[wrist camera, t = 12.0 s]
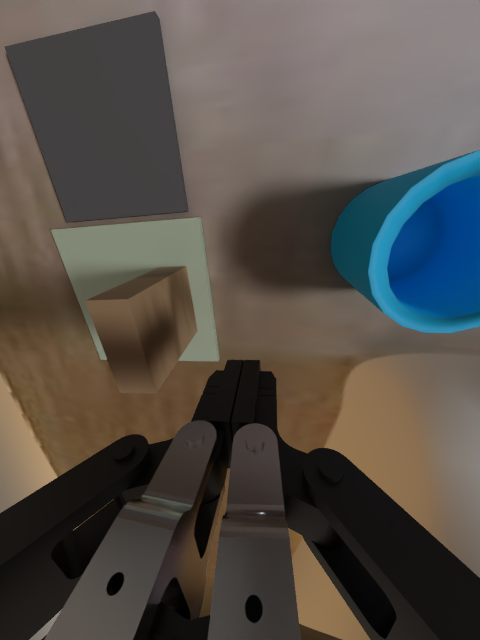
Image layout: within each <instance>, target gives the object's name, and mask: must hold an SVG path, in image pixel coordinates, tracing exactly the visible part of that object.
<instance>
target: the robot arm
mask: <svg viewBox="0 0 480 640" xmlns="http://www.w3.org/2000/svg"><path fill="white" fill-rule="evenodd" d="M227 468H230V476H229V487H228V497H227V507H226V513H225V515H223V518H222V521H221V527H220V534H219V542H218V551H217V560H216V569H215V578H214V587H213V596H212V605H211V614H210V615H209V616H205V617H201V618H199V616H200V612H201V608H202V603H203V598H204V592H205V584H206V570H207V563H208V558H209V554H210V550H211V546H212V542H213V538H214V534H215V529H216V525H217V521H218V517H219V513H220V509H221V505H222V501H223V497H224V493H225V479H226V474H227ZM113 499H114V500H113ZM112 500H113V501H112ZM110 501H111V502H110ZM109 502H110V503H109ZM108 503H109V504H108ZM106 504H107V505H106ZM105 505H106V506H105ZM104 506H105V507H104ZM102 507H103V508H102ZM101 508H102V509H101ZM100 509H101V510H100ZM99 510H100V511H99ZM97 511H98V512H97ZM96 512H97V513H96ZM95 513H96V514H95ZM93 514H94V515H93ZM92 515H93V516H92ZM91 516H92V517H91ZM89 517H91V518H89ZM88 518H89V519H88ZM87 519H88V520H87ZM86 520H87V521H86ZM84 521H85V522H84ZM83 522H84V523H83ZM82 523H83V524H82ZM80 524H81V525H80ZM79 525H80V526H79ZM78 526H79V527H78ZM76 527H78V528H76ZM75 528H76V529H75ZM288 528H290V529H292V530H294V531H295V532H297V533H299V534H301V535H302V536H303V538H304V540H305V542H306V544H307V545H308V547H309V548H310V550H311V551H312V553H313V554H314V556H315V557H316V559H317V560H318V561H319V563H320V565H321V566H322V568H323V569H324V571H325V572H326V574H327V575H328V576H329V578H330V579H331V581H332V582H333V584H334V585H335V587H336V588H337V590H338V591H339V593H340V594H341V596H342V597H343V599H344V600H345V602H346V603H347V605H348V606H349V607H350V609H351V611H352V612H353V614H354V615H355V617H356V618H357V620H358V621H359V623H360V624H361V626H362V627H363V629H364V630H365V632H366V633H367V635H368V636H369V638H370V639H371V640H480V578H479V577H478V576H477V575H476V574H474V573H473V572H472V571H471V570H470V569H469V568H468V567H467V566H466V565H465V564H463V563H462V562H461V561H460V560H459V559H458V558H457V557H456V556H455V555H454V554H452V553H451V552H450V551H449V550H448V549H447V548H446V547H445V546H444V545H443V544H441V543H440V542H439V541H438V540H437V539H436V538H435V537H434V536H432V535H431V534H430V533H429V532H428V531H427V530H426V529H425V528H424V527H423V526H421V525H420V524H419V523H418V522H417V521H416V520H415V519H414V518H412V517H411V516H410V515H409V514H408V513H407V512H406V511H405V510H404V509H403V508H402V507H400V506H399V505H398V504H397V503H396V502H395V501H394V500H393V499H392V498H390V497H389V496H388V495H387V494H386V493H385V492H384V491H383V490H382V489H381V488H379V487H378V486H377V485H376V484H375V483H374V482H373V481H372V480H370V479H369V478H368V477H367V476H366V475H365V474H364V473H363V472H362V471H361V470H359V469H358V468H357V467H356V466H355V465H354V464H353V463H352V462H351V461H350V460H348V459H347V458H346V457H345V456H344V455H342V454H341V453H339V452H337V451H335V450H332V449H328V448H318V449H314V450H312V451H311V452H309V453H308V454H307V453H304V452H302V451H299V450H296V449H294V448H292V447H291V446H289V445H288V444H286V443H285V442H284V441H283V440H282V438H281V437H280V435H279V433H278V430H277V399H276V378H275V377H274V375H273V373H272V372H271V371H261V368H260V360H227V363H226V366H225V369H224V371H218V370H216V371H215V372H214V373H213V374H212V375H211V376H210V377H209V379H208V381H207V384H206V387H205V389H204V391H203V395H202V396H201V398H200V401H199V403H198V406H197V408H196V411H195V413H194V416H193V418H192V421H191V422H190V423H188V424H186V425H184V426H183V427H182V428H181V429H180V430H179V431H178V432H177V434H176V435H175V437H174V438H173V439H170V440H167V441H162V442H158V443H154V444H148V441H147V439H146V438H145V437H144V436H142V435H137V434H133V435H128V436H125V437H123V438H121V439H119V440H117V441H115V442H114V443H112V444H111V445H109V446H107V447H106V448H104V449H103V450H101V451H99V452H98V453H96V454H95V455H93V456H91V457H90V458H88V459H87V460H85V461H83V462H82V463H80V464H79V465H77V466H75V467H74V468H72V469H71V470H69V471H67V472H66V473H64V474H63V475H61V476H59V477H58V478H56V479H55V480H53V481H51V482H50V483H48V484H47V485H45V486H43V487H42V488H40V489H39V490H37V491H36V492H34V493H32V494H31V495H29V496H28V497H26V498H24V499H23V500H21V501H20V502H18V503H16V504H15V505H13V506H11V507H10V508H8V509H7V510H5V511H3V512H2V513H0V640H29V639H30V638H31V637H32V636H33V635H34V634H36V633H37V631H39V630H40V629H41V628H42V627H43V626H44V625H45V624H46V623H47V622H48V621H50V620H51V619H52V618H53V617H54V616H55V615H56V614H57V613H58V612H59V611H60V610H61V609H62V608H63V609H62V610H61V612H60V614H59V616H58V617H57V619H56V621H55V622H54V624H53V626H52V628H51V629H50V631H49V632H48V634H47V635H46V636H45V637H44V638H43V639H42V640H301V638H300V629H299V620H298V611H297V602H296V593H295V585H294V575H293V566H292V557H291V548H290V539H289V531H288ZM74 529H75V530H74Z"/></svg>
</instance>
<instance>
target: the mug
mask: <svg viewBox="0 0 480 640" xmlns="http://www.w3.org/2000/svg"><path fill="white" fill-rule="evenodd" d="M330 250H331V255H332V259H333V263H334V266H335V267H336V269H337V270H338V272H339V273H340V275H341V276H342V277H343V278H344V279H345V280H346V281H347V282H349V283H350V284H351V285H352V286H353V287H354V288H355V289H357V290H358V291H359V292H360V293H361V294H362V295H364V296H365V297H366V298H367V299H368V300H369V301H370V302H372V303H373V304H374V305H375V306H376V307H377V308H378V309H380V310H381V311H382V312H383V313H384V314H386V315H387V316H389V317H390V318H391V319H393V320H394V321H396V322H397V323H398V324H400V325H401V326H404V327H407V328H411V329H414V330H417V331H421V332H424V333H453V332H458V331H462V330H466V329H471V328H475V327H480V150H478V151H475V152H472V153H469V154H466V155H463V156H459V157H456V158H453V159H450V160H447V161H444V162H441V163H438V164H435V165H432V166H429V167H425V168H422V169H419V170H416V171H413V172H410V173H407V174H404V175H401V176H398V177H395V178H392V179H388V180H386V181H383V182H381V183H378V184H376V185H373V186H371V187H368V188H367V189H366V190H364V191H363V192H362V193H360V194H359V195H358V196H356V197H355V198H354V199H353V200H351V201H350V203H349V204H348V205H347V207H346V208H345V209H344V211H343V212H342V213H341V214H340V216H339V218H338V220H337V223H336V225H335V227H334V230H333V232H332V239H331V249H330Z"/></svg>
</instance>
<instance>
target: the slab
mask: <svg viewBox="0 0 480 640" xmlns="http://www.w3.org/2000/svg"><path fill="white" fill-rule="evenodd" d="M85 302H86V304H87V307H88V310H89V312H90V315H91V318H92V320H93V323H94V326H95V328H96V331H97V334H98V336H99V339H100V342H101V344H102V347H103V350H104V352H105V355H106V358H107V360H108V363H109V366H110V368H111V371H112V373H113V376H114V379H115V381H116V384H117V387H118V389H119V392H120V393H146V394H156V393H157V391H158V390H159V388H160V387H161V385H162V384H163V382H164V381H165V379H166V378H167V376H168V375H169V373H170V372H171V370H172V369H173V367H174V366H175V364H176V363H177V361H178V360H179V358H180V357H181V355H182V354H183V352H184V351H185V349H186V348H187V346H188V345H189V343H190V342H191V340H192V339H193V337H194V336H195V334H196V332H197V331H198V330H197V324H196V319H195V313H194V307H193V301H192V295H191V290H190V284H189V278H188V272H187V266H177V267H159V268H157V269H155V270H153V271H150V272H148V273H146V274H144V275H141V276H139V277H137V278H135V279H132V280H130V281H128V282H126V283H123V284H121V285H119V286H117V287H114V288H112V289H110V290H108V291H105V292H103V293H101V294H99V295H96V296H94V297H92V298H90V299H87V300H85Z"/></svg>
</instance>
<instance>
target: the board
mask: <svg viewBox="0 0 480 640" xmlns="http://www.w3.org/2000/svg"><path fill="white" fill-rule="evenodd" d="M51 232H52V235H53V237H54V240H55V242H56V245H57V248H58V250H59V253H60V255H61V258H62V261H63V263H64V266H65V268H66V271H67V273H68V276H69V279H70V281H71V284H72V286H73V289H74V291H75V294H76V297H77V299H78V302H79V304H80V307H81V310H82V312H83V315H84V317H85V320H86V322H87V325H88V328H89V330H90V333H91V335H92V338H93V341H94V343H95V346H96V348H97V351H98V353H99V356H100V359H101V360H107V358H106V355H105V352H104V350H103V347H102V344H101V342H100V339H99V336H98V334H97V331H96V328H95V326H94V323H93V320H92V318H91V315H90V312H89V310H88V307H87V304H86V302H85V300H87V299H90V298H92V297H94V296H96V295H99V294H101V293H103V292H105V291H108V290H110V289H112V288H114V287H117V286H119V285H121V284H123V283H126V282H128V281H130V280H132V279H135V278H137V277H139V276H141V275H144V274H146V273H148V272H150V271H153V270H155V269H157V268H159V267H177V266H187V272H188V278H189V284H190V290H191V295H192V301H193V307H194V313H195V319H196V324H197V330H198V331H197V332H196V334H195V336H194V337H193V339H192V340H191V342H190V343H189V345H188V346H187V348H186V349H185V351H184V352H183V354H182V355H181V357H180V358H179V360H178V361H219V359H220V358H219V350H218V343H217V335H216V328H215V320H214V312H213V305H212V297H211V290H210V282H209V275H208V267H207V260H206V252H205V245H204V237H203V229H202V222H201V217H195V218H184V219H172V220H160V221H149V222H137V223H125V224H114V225H102V226H90V227H79V228H67V229H55V230H51Z"/></svg>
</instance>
